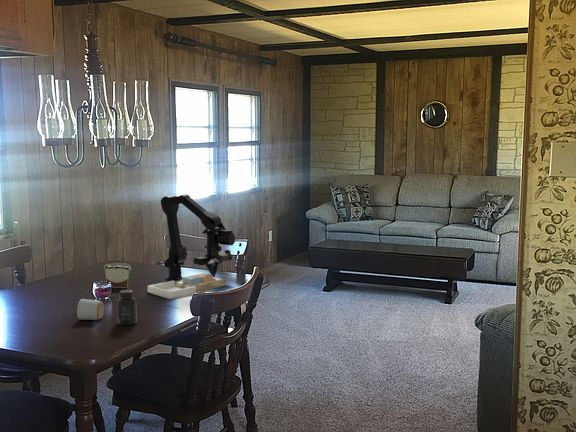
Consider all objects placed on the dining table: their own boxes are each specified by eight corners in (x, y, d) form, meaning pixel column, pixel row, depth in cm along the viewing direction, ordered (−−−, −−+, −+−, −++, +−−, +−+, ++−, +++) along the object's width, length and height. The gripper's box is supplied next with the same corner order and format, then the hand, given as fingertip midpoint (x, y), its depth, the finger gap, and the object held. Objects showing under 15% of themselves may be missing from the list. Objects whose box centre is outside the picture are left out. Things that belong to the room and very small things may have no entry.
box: (147, 292, 280) (147, 285, 279) (173, 287, 290) (173, 280, 289) (169, 299, 269) (169, 292, 269) (195, 293, 279) (195, 286, 279)
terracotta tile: (194, 280, 292) (194, 275, 291) (204, 278, 296) (204, 273, 296) (202, 282, 288) (202, 277, 287) (212, 280, 292) (212, 275, 292)
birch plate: (175, 287, 289) (175, 281, 289) (206, 280, 302) (206, 275, 302) (195, 292, 280) (194, 287, 280) (226, 285, 293) (226, 280, 293)
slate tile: (182, 282, 287) (182, 277, 287) (193, 280, 291) (193, 275, 291) (191, 285, 283) (190, 279, 283) (201, 282, 287) (201, 277, 287)
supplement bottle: (140, 321, 237) (140, 290, 236) (129, 326, 231) (128, 294, 230) (125, 319, 240) (125, 288, 239) (113, 324, 234) (112, 292, 233)
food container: (135, 284, 294) (134, 263, 292) (130, 288, 288) (130, 266, 286) (109, 284, 295) (108, 262, 294) (104, 287, 289) (103, 265, 288)
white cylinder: (99, 322, 236) (98, 301, 236) (76, 322, 237) (76, 301, 236) (107, 314, 247) (107, 295, 246) (86, 314, 247) (85, 294, 246)
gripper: (208, 248, 282) (209, 283, 284) (239, 243, 295) (240, 276, 297) (192, 245, 289) (193, 279, 291) (223, 240, 303) (224, 272, 305)
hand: (213, 277), depth 296 cm, fingers closed
